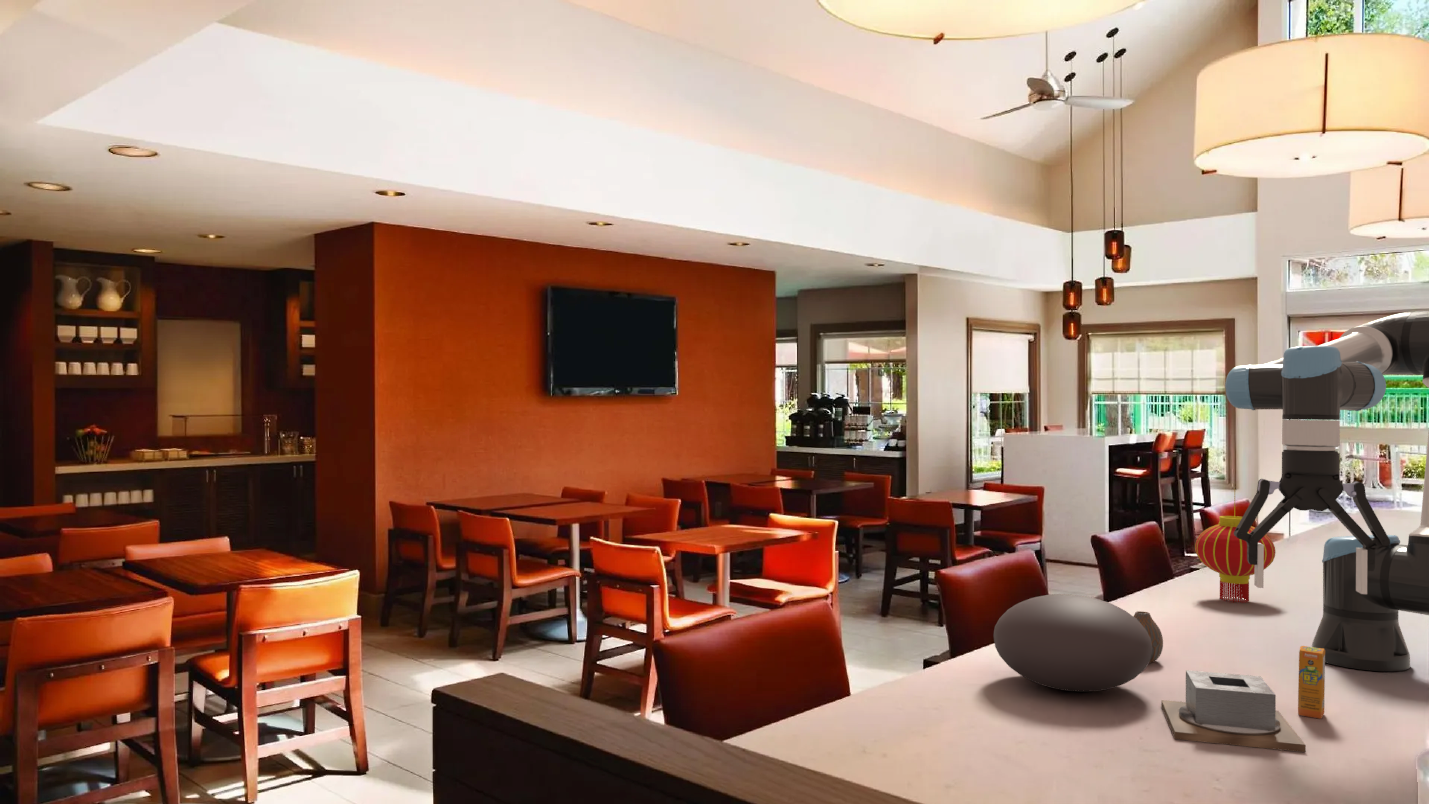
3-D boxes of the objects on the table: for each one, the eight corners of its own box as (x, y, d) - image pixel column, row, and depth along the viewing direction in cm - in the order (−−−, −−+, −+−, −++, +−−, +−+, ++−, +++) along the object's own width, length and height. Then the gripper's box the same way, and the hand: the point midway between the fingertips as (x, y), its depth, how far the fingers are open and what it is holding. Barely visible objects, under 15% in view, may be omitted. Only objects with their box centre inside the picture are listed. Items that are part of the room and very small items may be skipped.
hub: (1269, 712, 148) (1269, 674, 148) (1290, 740, 136) (1290, 698, 136) (1173, 703, 152) (1173, 666, 152) (1185, 729, 140) (1185, 689, 140)
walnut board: (1278, 717, 149) (1278, 710, 149) (1305, 752, 134) (1305, 744, 134) (1161, 706, 154) (1161, 700, 154) (1174, 739, 139) (1174, 731, 139)
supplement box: (1296, 715, 150) (1297, 648, 150) (1299, 710, 153) (1300, 644, 153) (1322, 720, 148) (1323, 652, 148) (1325, 714, 151) (1325, 648, 151)
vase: (1167, 666, 178) (1167, 617, 178) (1126, 664, 180) (1126, 615, 180) (1158, 657, 185) (1158, 609, 185) (1118, 654, 187) (1118, 607, 187)
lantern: (1184, 592, 251) (1185, 473, 252) (1258, 595, 249) (1259, 474, 249) (1208, 605, 234) (1209, 478, 235) (1287, 608, 232) (1288, 479, 232)
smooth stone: (1145, 675, 172) (1146, 588, 173) (1159, 716, 149) (1159, 616, 149) (997, 661, 180) (998, 579, 181) (987, 699, 157) (988, 604, 157)
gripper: (1398, 449, 150) (1397, 590, 150) (1214, 446, 158) (1213, 580, 158) (1415, 451, 143) (1414, 599, 143) (1222, 447, 151) (1221, 588, 151)
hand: (1309, 589), depth 151 cm, fingers open, 13 cm apart
